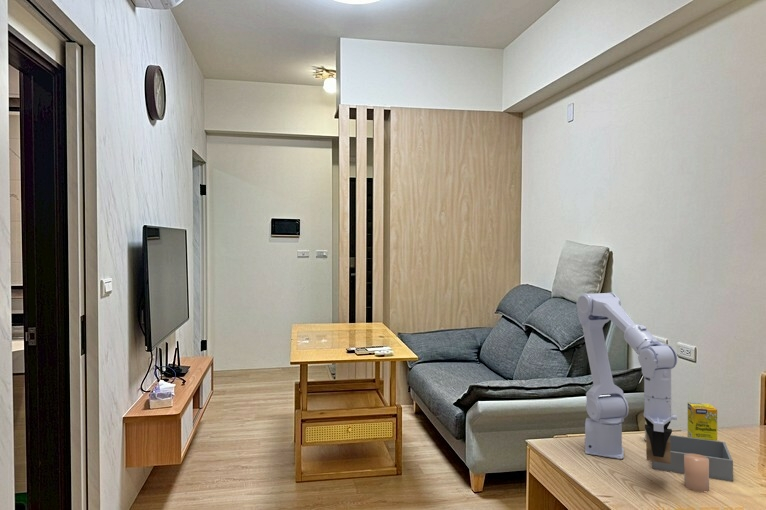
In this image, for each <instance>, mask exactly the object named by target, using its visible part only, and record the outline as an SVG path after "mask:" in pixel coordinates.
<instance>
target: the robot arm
mask: <svg viewBox="0 0 766 510" xmlns="http://www.w3.org/2000/svg"><path fill="white" fill-rule="evenodd" d="M621 304H622V303H621V299H620V298H619V297H618V296H617V295H616V293H615V292H604V293H603V292H601V293H599V292H597V293H586V292H583V293H581V294H580V295H579V297H578V299H577V301H576V304H575V305H576V306H575V307H576V311H577V315H578V321H579V324H581V329H582V332H583V337H584V342H585V348H586V353H587V358H588V363H589V368H590V375H591V379H592V383H593V385H592V386H591V387H590V388H589V389H588V390H587V391H586V393H585V396H586V397H585V398H586V403H585V408H586V409H585V410H586V413H587V415H588V416H589V417H585V422H584V430H585V431H584V445H585V447H584V449H585V451H584V454H586V455H593V456H598V457H605V458H611V459H618V460H623V459H624V454H625V453H624V452H625V448H624V447H623V429H622V428H623V422H625V418H627V417H628V415H629V412H630V411H629V410H630V408H629V403H628V401H627V399H626V397H625V395H624V390H623V389H622V388H620V386H618V385H617V384H615V383H614V378H613V375H612V369H611V365H610V364H611V363H610V360H609V354H608V349H607V345H606V340H605V335H604V329H603V328H604V326H605V324H607V323H608V322H610V321H611V322H612V323H613V324H614V325H615V326H616V327H617V328H618V329H619V330H621V331H622V332H623V333H624V334H623V339H624V341H625V342H626V343H627V344H628V345H629V346H630V348H631V349H632V350H633V351H634V352H635V353H636V354H637V355H638V356H637V357H638V358H637V359H638V363H639V365H640V368H641V374H642V376H643V377H644V378H643V381H644V383H643V385H644V386H643V389H644V392H643V397H644V400H643V402H644V405H643V406H644V409H643V417H644V422H645V421H646V423H647V425H646V424H645V423H644V431H645V430H646V432H647V434H648V436H649V439H650V442H651V448H652V453H653V456H656V457H664V453H665V449H666V444H667V441H668V438H669V437H670V435H672V432H673V430H672V428H668V427H669V425H670V424H671V421H672V420H674V421H678V415H677V414H672V369H674V368H675V367H676V366H677V363H678V355H677V353H676V350H675V349H674V348H673V346H671V345H670V344H668V343H667V344H665V343H663V342H660V341H659V340H658V339H656V337H655V336H654V335H653V334H652V333H651V332H650V331H649V330H648V328H647V327H646V326H645V325H643V324H636V323H635V321H633V319H632V318H631V317H630V316H629V315H628V313H627V312H626V311H625V310H624V308H623V307H622V306H621ZM602 395H604V396H602Z"/></svg>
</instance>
